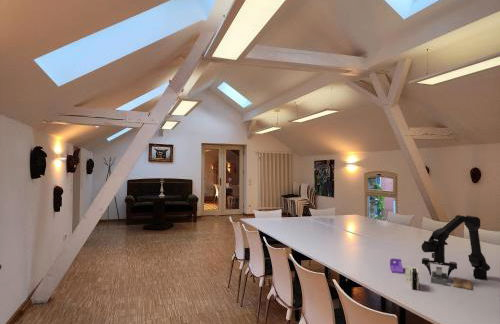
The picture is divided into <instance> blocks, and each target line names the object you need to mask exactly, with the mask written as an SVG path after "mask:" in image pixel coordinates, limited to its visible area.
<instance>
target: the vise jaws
mask: <svg viewBox="0 0 500 324" xmlns="http://www.w3.org/2000/svg"><path fill="white" fill-rule="evenodd" d="M447 274H448V272H442V279H441V278H436V270H431V276H430V283H431V284H435V285H441V286H447Z"/></svg>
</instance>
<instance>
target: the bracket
mask: <svg viewBox="0 0 500 324" xmlns="http://www.w3.org/2000/svg"><path fill="white" fill-rule="evenodd" d="M389 268H390V271H391V273H392V274H399V275H400V274H402V275H404V270H403V269H404V268H403V264H402V259H401V258H396V257H395V258H393V257H391V258H390V259H389Z"/></svg>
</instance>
